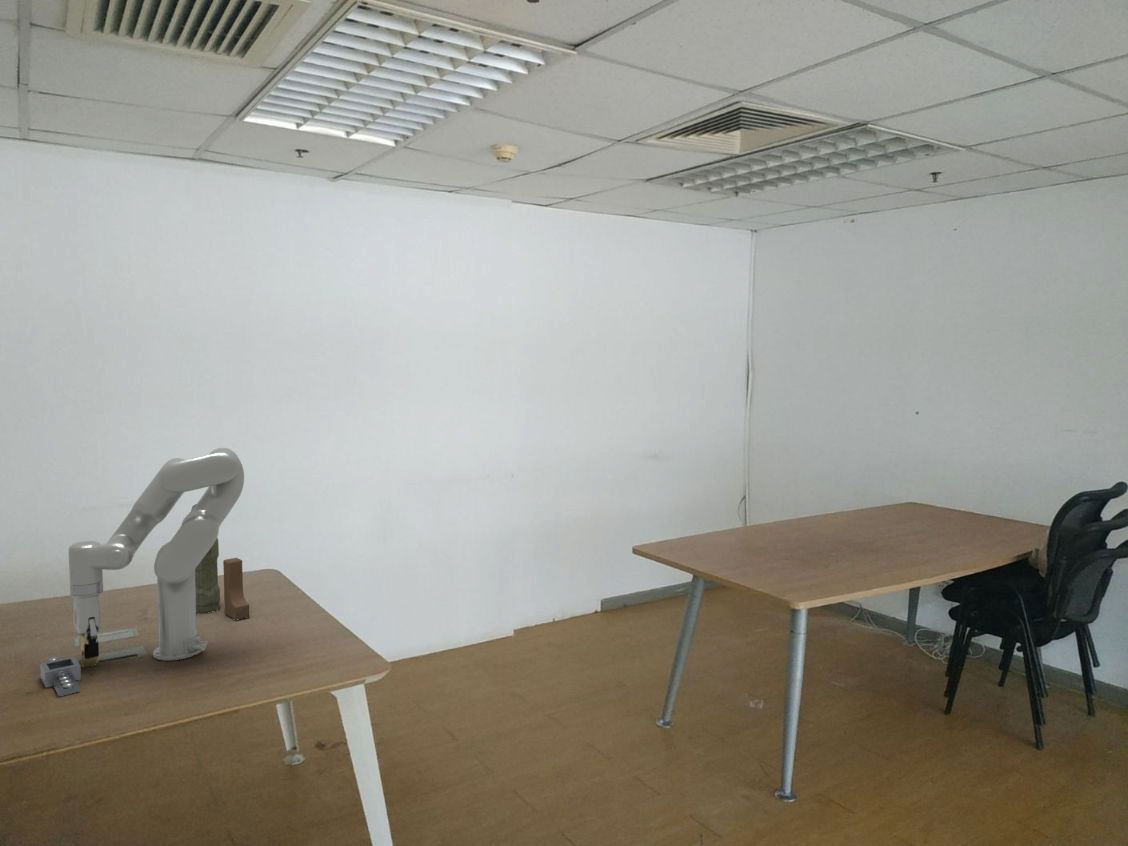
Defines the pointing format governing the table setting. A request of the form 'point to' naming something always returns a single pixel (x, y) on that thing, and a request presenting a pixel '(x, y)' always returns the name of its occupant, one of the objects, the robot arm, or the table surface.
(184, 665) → the table surface
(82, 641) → the pin
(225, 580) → the wooden block
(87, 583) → the robot arm
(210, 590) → the thermos
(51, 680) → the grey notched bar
